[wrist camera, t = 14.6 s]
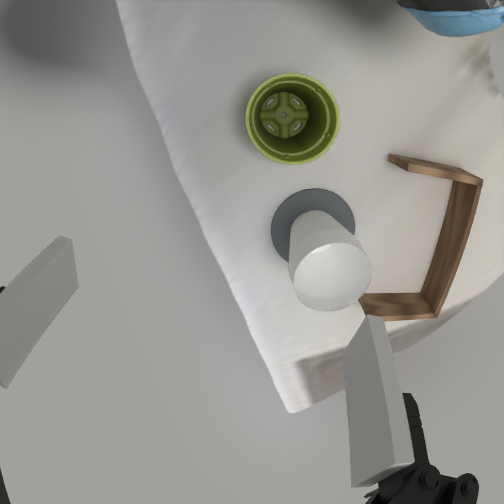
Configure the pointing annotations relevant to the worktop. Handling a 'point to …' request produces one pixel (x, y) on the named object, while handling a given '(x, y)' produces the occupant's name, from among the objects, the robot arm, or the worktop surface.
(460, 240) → the u-shaped wooden rail
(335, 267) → the cup
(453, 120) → the worktop surface
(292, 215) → the disc
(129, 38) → the worktop surface
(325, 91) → the plant pot
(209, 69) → the worktop surface
